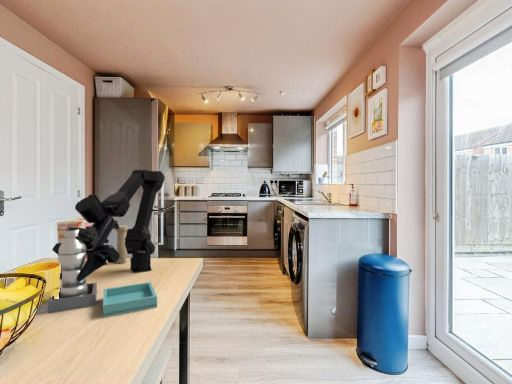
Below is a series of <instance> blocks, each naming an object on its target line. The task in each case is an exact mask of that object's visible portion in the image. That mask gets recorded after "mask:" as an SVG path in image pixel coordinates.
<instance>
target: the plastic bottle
mask: <svg viewBox="0 0 512 384" xmlns="http://www.w3.org/2000/svg"><path fill="white" fill-rule="evenodd" d="M78 233H79V230H74V231H69V229H67V230H65V235H64V237H65V240H64V241H63V243H62V244H61V246H60V247H59V250H58V251H59V257H60V261H61V269H62V280H61V285H60V287H61V290H60V298H67V297H74V296H80V295H87V294H88V286H87V284H88V283H87V277H86V278H84V279H83V280H81V281H78V280H77V278H78V276H79V274H80V272H81V270H82V268H83V267H84V265H85V257H86V245H85V243H84V242H83V241H82V240H78V239H76V237H78Z"/></svg>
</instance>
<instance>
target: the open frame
mask: <svg viewBox="0 0 512 384" xmlns="http://www.w3.org/2000/svg"><path fill="white" fill-rule="evenodd" d="M87 286H88V294H87V295H80V296H74V297H67V298H60V292H59V299H54V296H52V297H50V296H49V297H50V298H48V300H47V301H46V302H47V304H46V305H47V314H52V313H58V312H63V311H70V310H76V309H77V310H78V309H82V308H87V307H88V308H89V307H93V306H96V304H97V296H98V295H97V294H98V282H97V281H96V282H89V283H87ZM60 290H61V286H60Z"/></svg>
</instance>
